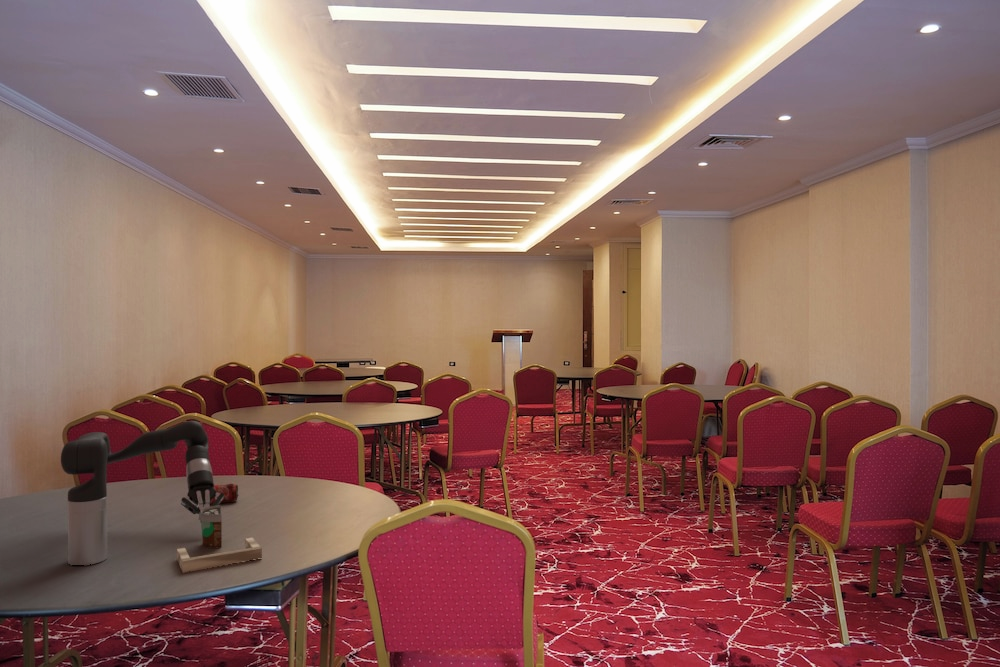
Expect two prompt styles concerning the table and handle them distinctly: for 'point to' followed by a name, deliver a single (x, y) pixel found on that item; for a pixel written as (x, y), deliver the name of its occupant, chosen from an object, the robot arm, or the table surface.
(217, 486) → the beverage can
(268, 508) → the table surface
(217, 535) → the food container
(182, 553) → the wooden bridge piece
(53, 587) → the table surface
